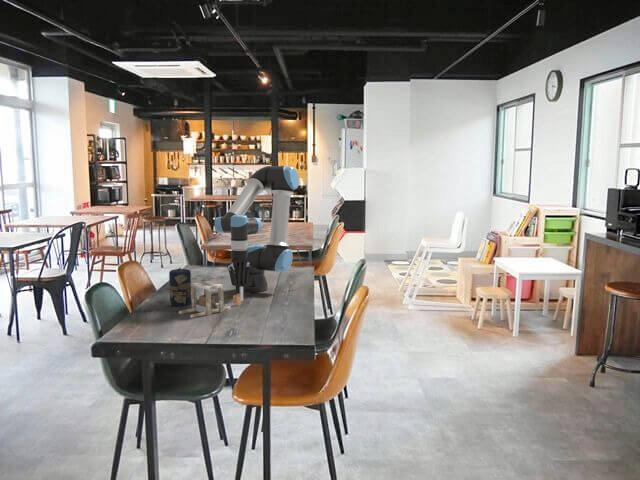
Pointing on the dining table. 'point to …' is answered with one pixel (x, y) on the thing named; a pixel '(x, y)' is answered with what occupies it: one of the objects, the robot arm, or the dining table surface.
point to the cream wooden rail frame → (207, 291)
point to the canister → (180, 287)
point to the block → (203, 301)
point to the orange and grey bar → (235, 302)
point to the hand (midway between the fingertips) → (240, 300)
